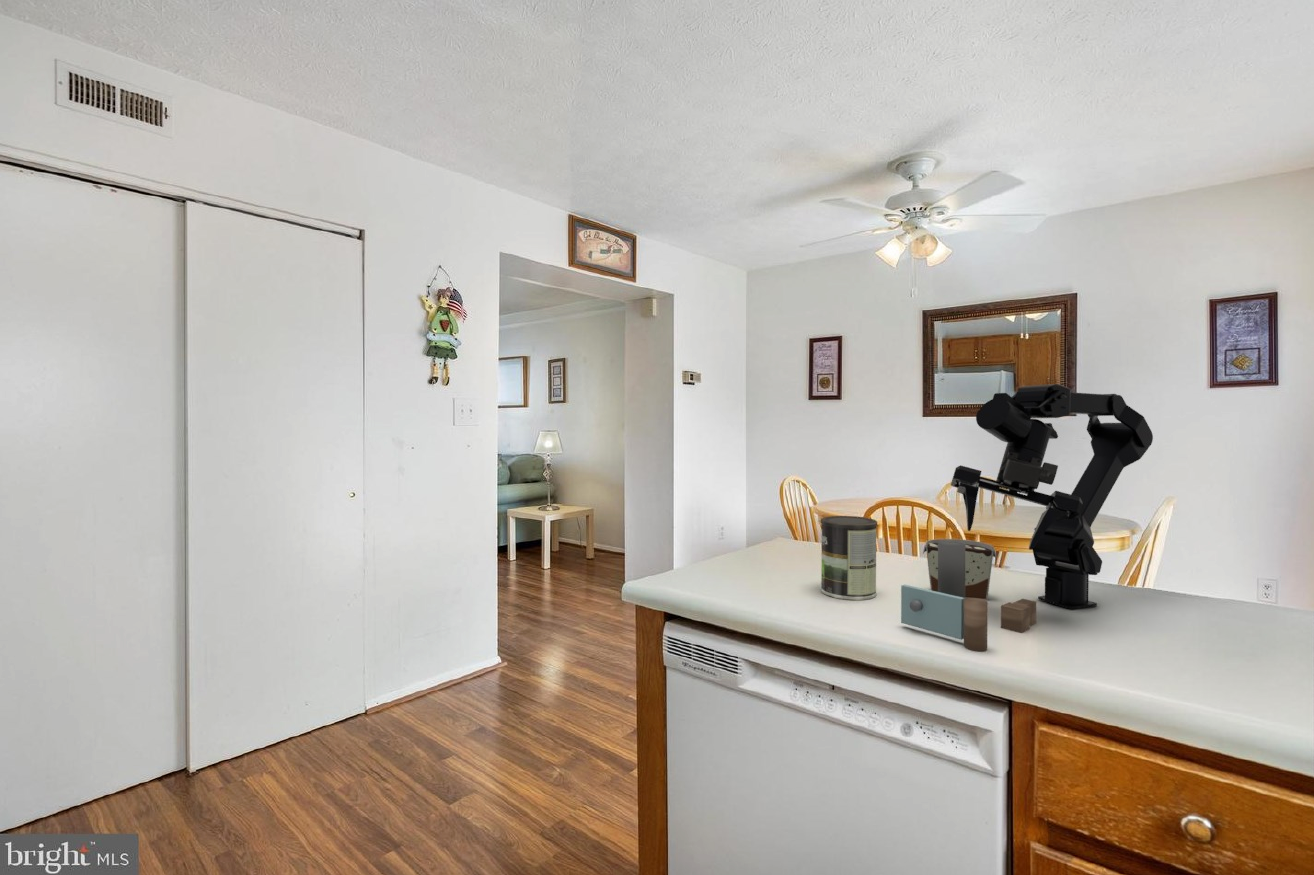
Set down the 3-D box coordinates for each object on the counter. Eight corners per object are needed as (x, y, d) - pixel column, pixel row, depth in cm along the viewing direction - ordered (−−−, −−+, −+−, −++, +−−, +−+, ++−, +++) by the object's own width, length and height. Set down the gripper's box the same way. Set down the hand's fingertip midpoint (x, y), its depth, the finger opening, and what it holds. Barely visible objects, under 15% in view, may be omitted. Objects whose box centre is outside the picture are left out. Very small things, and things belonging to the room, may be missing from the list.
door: (964, 638, 88) (964, 597, 88) (957, 641, 87) (958, 600, 87) (904, 621, 96) (904, 584, 96) (897, 624, 95) (897, 586, 94)
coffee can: (818, 597, 112) (818, 522, 111) (822, 583, 121) (822, 514, 121) (877, 602, 108) (877, 525, 108) (876, 588, 118) (877, 517, 118)
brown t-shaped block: (981, 652, 84) (981, 605, 84) (959, 646, 87) (960, 600, 87) (1039, 623, 96) (1039, 581, 96) (1019, 619, 99) (1019, 578, 99)
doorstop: (971, 619, 99) (971, 541, 98) (975, 632, 93) (975, 548, 92) (929, 615, 101) (929, 538, 101) (930, 627, 95) (930, 545, 95)
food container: (989, 592, 115) (990, 540, 114) (996, 601, 109) (996, 546, 108) (919, 586, 119) (920, 536, 118) (922, 595, 113) (923, 542, 113)
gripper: (969, 424, 99) (941, 513, 96) (1103, 456, 90) (1076, 553, 88) (963, 443, 109) (938, 524, 106) (1083, 473, 100) (1059, 561, 98)
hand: (998, 539), depth 99 cm, fingers open, 9 cm apart
